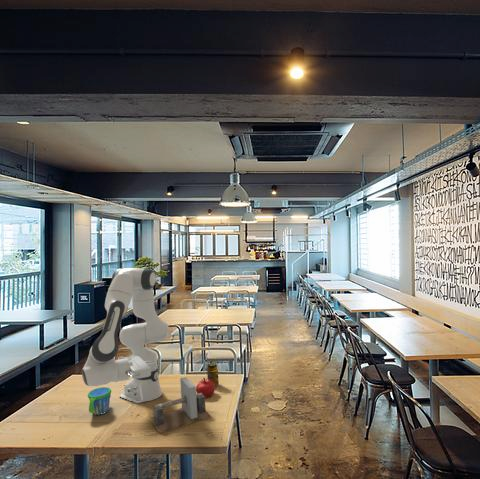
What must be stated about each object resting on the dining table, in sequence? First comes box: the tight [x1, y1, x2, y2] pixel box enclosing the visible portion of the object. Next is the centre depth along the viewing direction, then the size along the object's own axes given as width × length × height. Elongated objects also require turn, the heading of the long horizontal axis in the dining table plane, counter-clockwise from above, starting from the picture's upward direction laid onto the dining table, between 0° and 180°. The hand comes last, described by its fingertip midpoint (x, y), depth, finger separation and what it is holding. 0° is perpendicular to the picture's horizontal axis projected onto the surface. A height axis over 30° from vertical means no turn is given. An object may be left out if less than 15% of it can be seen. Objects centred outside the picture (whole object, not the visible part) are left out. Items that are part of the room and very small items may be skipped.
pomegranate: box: [195, 377, 216, 398], centre depth 187 cm, size 10×10×9 cm
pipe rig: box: [150, 393, 211, 434], centre depth 164 cm, size 24×14×9 cm, turn 118°
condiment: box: [206, 362, 222, 389], centre depth 198 cm, size 7×8×12 cm
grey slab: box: [179, 376, 197, 419], centre depth 166 cm, size 3×13×14 cm, turn 28°
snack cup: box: [87, 386, 112, 415], centre depth 174 cm, size 16×10×10 cm
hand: (155, 363), depth 159 cm, fingers closed
